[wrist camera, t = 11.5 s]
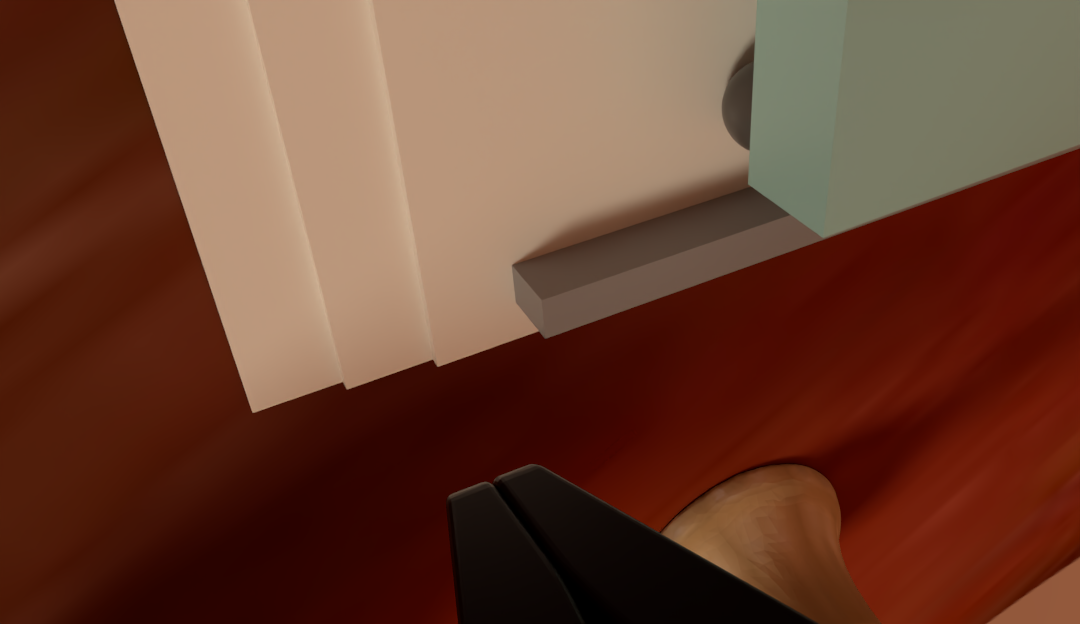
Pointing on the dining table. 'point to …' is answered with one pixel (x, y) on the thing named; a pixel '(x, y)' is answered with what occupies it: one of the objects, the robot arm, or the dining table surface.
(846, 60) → the sage green box
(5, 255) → the dining table surface
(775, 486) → the hand bell
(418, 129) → the dock
